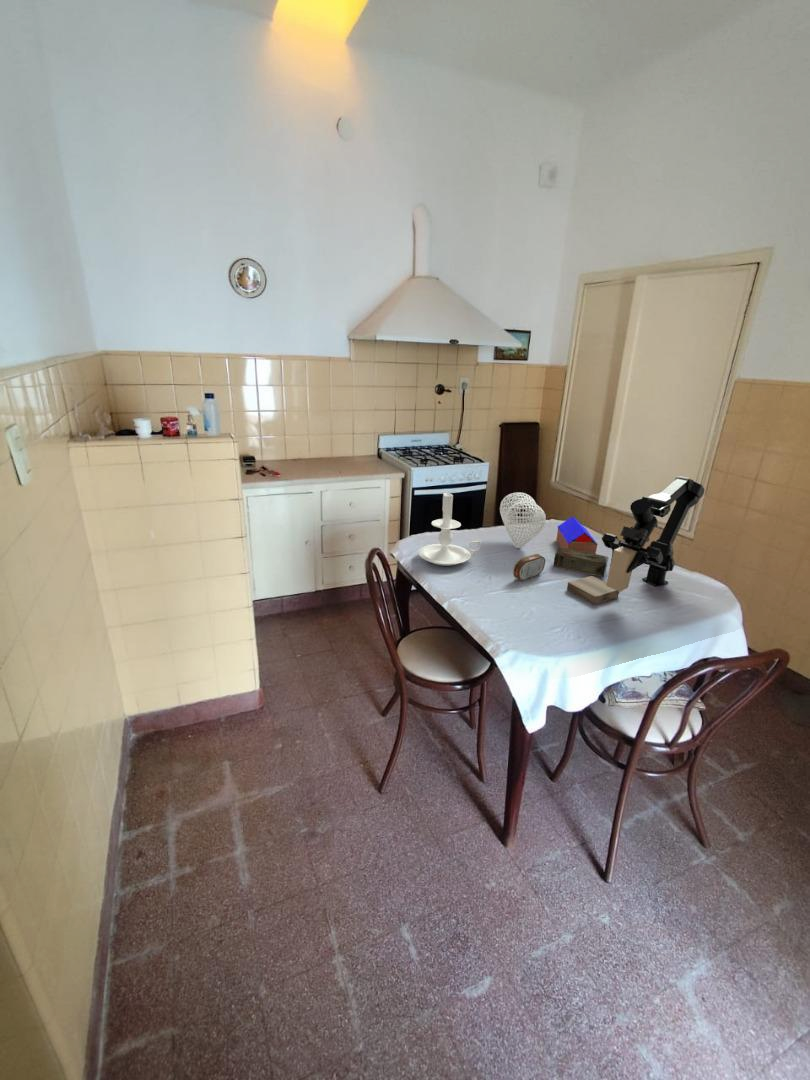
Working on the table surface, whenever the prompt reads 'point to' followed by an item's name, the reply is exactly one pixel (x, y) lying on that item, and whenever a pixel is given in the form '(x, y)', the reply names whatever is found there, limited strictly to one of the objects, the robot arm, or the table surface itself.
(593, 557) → the beverage carton
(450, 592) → the table surface
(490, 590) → the table surface
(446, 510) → the candlestick
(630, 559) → the kraft carton
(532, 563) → the tin
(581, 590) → the walnut podium
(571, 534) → the house
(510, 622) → the table surface
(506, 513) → the heart
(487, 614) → the table surface
